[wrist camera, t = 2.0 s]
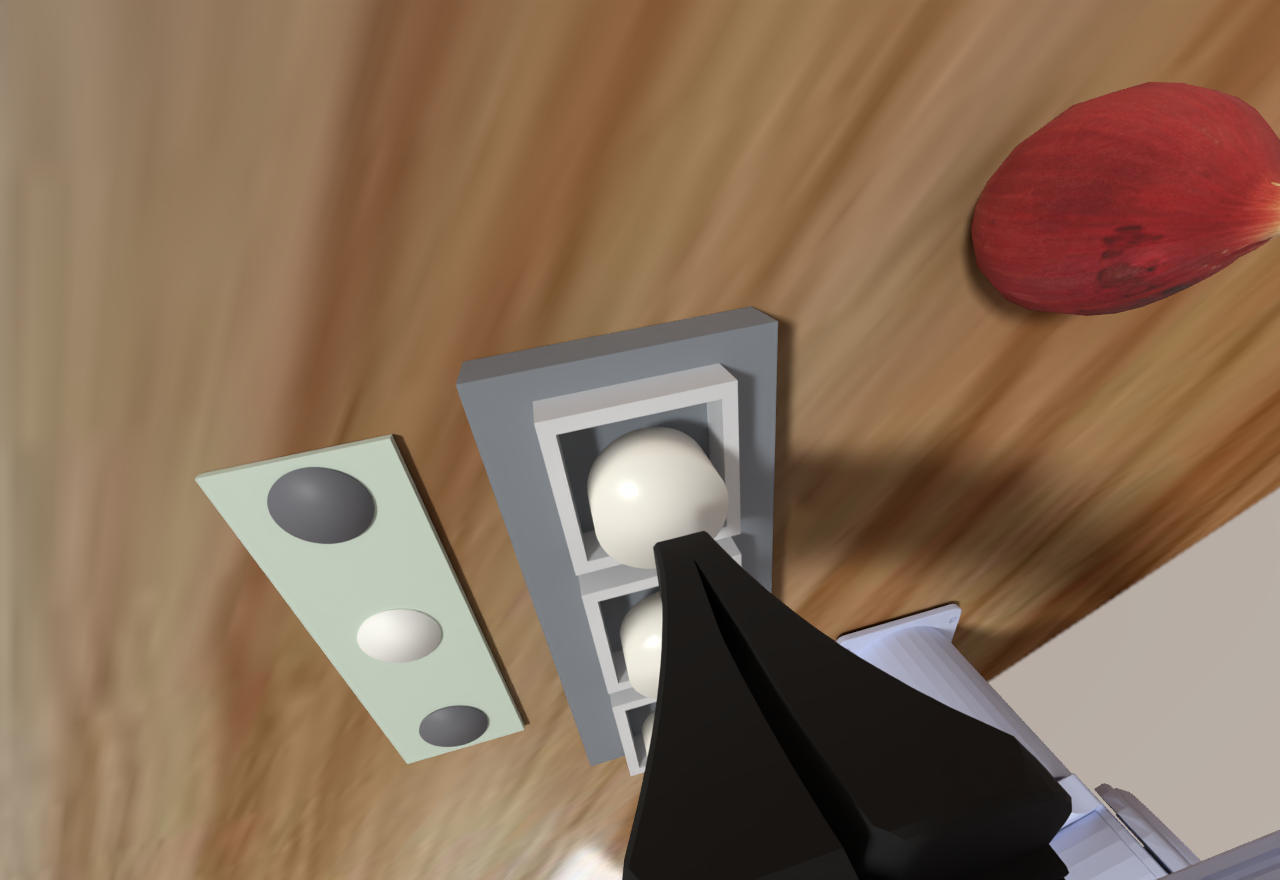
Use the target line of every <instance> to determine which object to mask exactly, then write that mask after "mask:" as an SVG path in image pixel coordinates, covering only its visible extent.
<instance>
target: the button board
mask: <svg viewBox="0 0 1280 880" xmlns="http://www.w3.org/2000/svg"><path fill="white" fill-rule="evenodd" d="M777 343H778V321H777V320H775V319H773V318H771V317H770V316H768V315H766V314H764V313H762V312H761V311H759V310H757V309H755V308H753V307H746V308H741V309H736V310H731V311H726V312H720V313H715V314H710V315H705V316H699V317H694V318H689V319H684V320H679V321H673V322H668V323H663V324H658V325H653V326H647V327H642V328H637V329H632V330H626V331H621V332H616V333H611V334H606V335H600V336H595V337H590V338H585V339H579V340H574V341H569V342H564V343H559V344H553V345H548V346H543V347H538V348H532V349H527V350H522V351H517V352H512V353H506V354H501V355H496V356H491V357H486V358H480V359H475V360H470V361H465V362H463V364H462V367H461V370H460V373H459V376H458V379H457V382H456V387H457V390H458V393H459V396H460V398H461V401H462V404H463V407H464V410H465V413H466V415H467V418H468V421H469V424H470V427H471V429H472V432H473V435H474V438H475V441H476V444H477V446H478V449H479V452H480V455H481V458H482V460H483V463H484V466H485V469H486V472H487V475H488V477H489V480H490V483H491V486H492V489H493V491H494V494H495V497H496V500H497V503H498V506H499V508H500V511H501V514H502V517H503V520H504V522H505V525H506V528H507V531H508V534H509V537H510V539H511V542H512V545H513V548H514V551H515V553H516V556H517V559H518V562H519V565H520V568H521V570H522V573H523V576H524V579H525V582H526V584H527V587H528V590H529V593H530V596H531V599H532V601H533V604H534V607H535V610H536V613H537V615H538V618H539V621H540V624H541V627H542V630H543V632H544V635H545V638H546V641H547V644H548V646H549V649H550V652H551V655H552V658H553V661H554V663H555V666H556V669H557V672H558V675H559V677H560V680H561V683H562V686H563V689H564V692H565V694H566V697H567V700H568V703H569V706H570V708H571V711H572V714H573V717H574V720H575V723H576V725H577V728H578V731H579V734H580V737H581V739H582V742H583V745H584V748H585V751H586V754H587V756H588V759H589V762H590V765H591V766H593V765H596V764H600V763H603V762H606V761H609V760H613V759H616V758H619V757H622V756H625V757H626V760H627V764H628V767H629V771H630V775H631V776H633V775H636V774H640V773H643V772H645V767H646V762H647V754H646V749H645V744H644V740H643V735H642V726H643V723H644V722H645V720H646V718H647V717H648V716H649V715H650V714H651V713H652V712H653V711H654V710H655V708H656V701H657V699H653V698H649V697H646V696H643V695H641V694H640V693H638V692H637V691H636V690H635V689H634V688H633V687H632V685H631V683H630V680H629V676H628V671H627V667H626V662H625V657H624V653H623V648H622V643H621V639H620V627H621V624H622V621H623V619H624V617H625V616H626V614H627V613H628V612H629V610H630V609H631V608H632V607H633V606H634V605H636V604H637V603H638V602H639V601H641V600H642V599H644V598H645V597H647V596H649V595H651V594H653V593H656V592H658V591H659V584H658V577H657V571H656V569H643V568H635V567H631V566H628V565H625V564H622V563H620V562H618V561H616V560H615V559H613V558H612V557H610V556H609V555H608V554H607V553H606V552H605V551H604V549H603V548H602V547H601V545H600V543H599V541H598V539H597V536H596V533H595V528H594V523H593V518H592V513H591V508H590V504H589V499H588V493H587V481H588V475H589V472H590V469H591V467H592V465H593V463H594V461H595V460H596V458H597V457H598V455H599V454H600V453H601V452H602V451H603V449H604V448H605V447H607V446H608V445H609V444H610V443H611V442H613V441H614V440H615V439H617V438H619V437H620V436H622V435H624V434H626V433H629V432H631V431H634V430H637V429H641V428H647V427H667V428H672V429H675V430H678V431H681V432H683V433H685V434H687V435H688V436H690V437H691V438H693V439H694V440H695V441H696V442H697V443H698V444H699V446H700V447H701V448H702V450H703V451H704V453H705V454H706V456H707V457H708V459H709V460H710V462H711V463H712V465H713V466H714V468H715V469H716V471H717V472H718V474H719V475H720V477H721V478H722V480H723V482H724V484H725V486H726V488H727V492H728V498H729V508H728V513H727V517H726V520H725V522H724V524H723V526H722V528H721V530H720V531H719V533H718V535H717V536H716V537H715V538H714V540H715V541H716V542H717V543H718V544H719V545H720V546H721V547H722V548H723V549H724V550H725V551H726V552H727V553H728V554H729V555H730V556H731V557H732V558H733V559H734V560H735V561H736V562H737V563H738V564H739V565H740V566H741V567H742V568H743V569H744V570H745V571H747V572H748V573H749V574H750V575H751V576H752V577H753V578H754V579H755V580H757V581H758V582H759V583H760V584H761V585H762V586H763V587H765V588H766V589H767V590H768V591H769V592H770V593H771V587H772V546H773V506H774V465H775V424H776V384H777Z"/></svg>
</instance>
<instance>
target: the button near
mask: <svg viewBox="0 0 1280 880" xmlns="http://www.w3.org/2000/svg"><path fill="white" fill-rule="evenodd" d="M587 493H588V499H589V504H590V508H591V513H592V518H593V523H594V528H595V533H596V536H597V539H598V541H599V543H600V545H601V547H602V548H603V549H604V551H605V552H606V553H607V554H608V555H609V556H610V557H612V558H613V559H615V560H616V561H618V562H620V563H622V564H625V565H628V566H631V567H635V568H643V569H656V564H655V557H654V551H653V546H654V545H655V544H656V543H657V542H661V541H665V540H669V539H673V538H677V537H681V536H685V535H689V534H693V533H697V532H701V531H706V532H707V533H709V534H710V536H711V537H712V538H713V539H714V538H715V537H716V536H717V535H718V533H719V531H720V530H721V528H722V526H723V524H724V522H725V520H726V517H727V513H728V508H729V498H728V492H727V488H726V486H725V484H724V482H723V480H722V478H721V477H720V475H719V474H718V472H717V471H716V469H715V468H714V466H713V465H712V463H711V462H710V460H709V459H708V457H707V456H706V454H705V453H704V451H703V450H702V448H701V447H700V446H699V444H698V443H697V442H696V441H695V440H694V439H693V438H691V437H690V436H688V435H687V434H685V433H683V432H681V431H678V430H675V429H672V428H667V427H647V428H641V429H637V430H634V431H631V432H629V433H626V434H624V435H622V436H620V437H619V438H617V439H615V440H614V441H613V442H611V443H610V444H609V445H608V446H607V447H605V448H604V449H603V451H602V452H601V453H600V454H599V455H598V457H597V458H596V460H595V461H594V463H593V465H592V467H591V469H590V472H589V475H588V481H587Z"/></svg>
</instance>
